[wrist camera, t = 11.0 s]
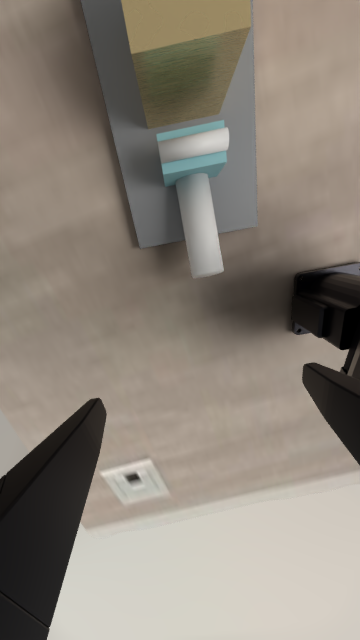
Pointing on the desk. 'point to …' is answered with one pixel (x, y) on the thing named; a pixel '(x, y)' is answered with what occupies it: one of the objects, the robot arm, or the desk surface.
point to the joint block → (185, 54)
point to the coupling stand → (179, 150)
